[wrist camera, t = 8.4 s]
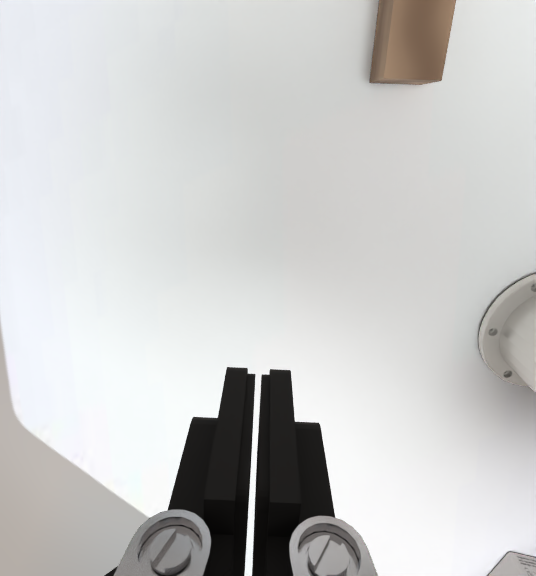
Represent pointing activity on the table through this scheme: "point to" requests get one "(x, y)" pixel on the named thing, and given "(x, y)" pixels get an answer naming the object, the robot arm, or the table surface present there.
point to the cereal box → (515, 566)
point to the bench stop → (411, 41)
